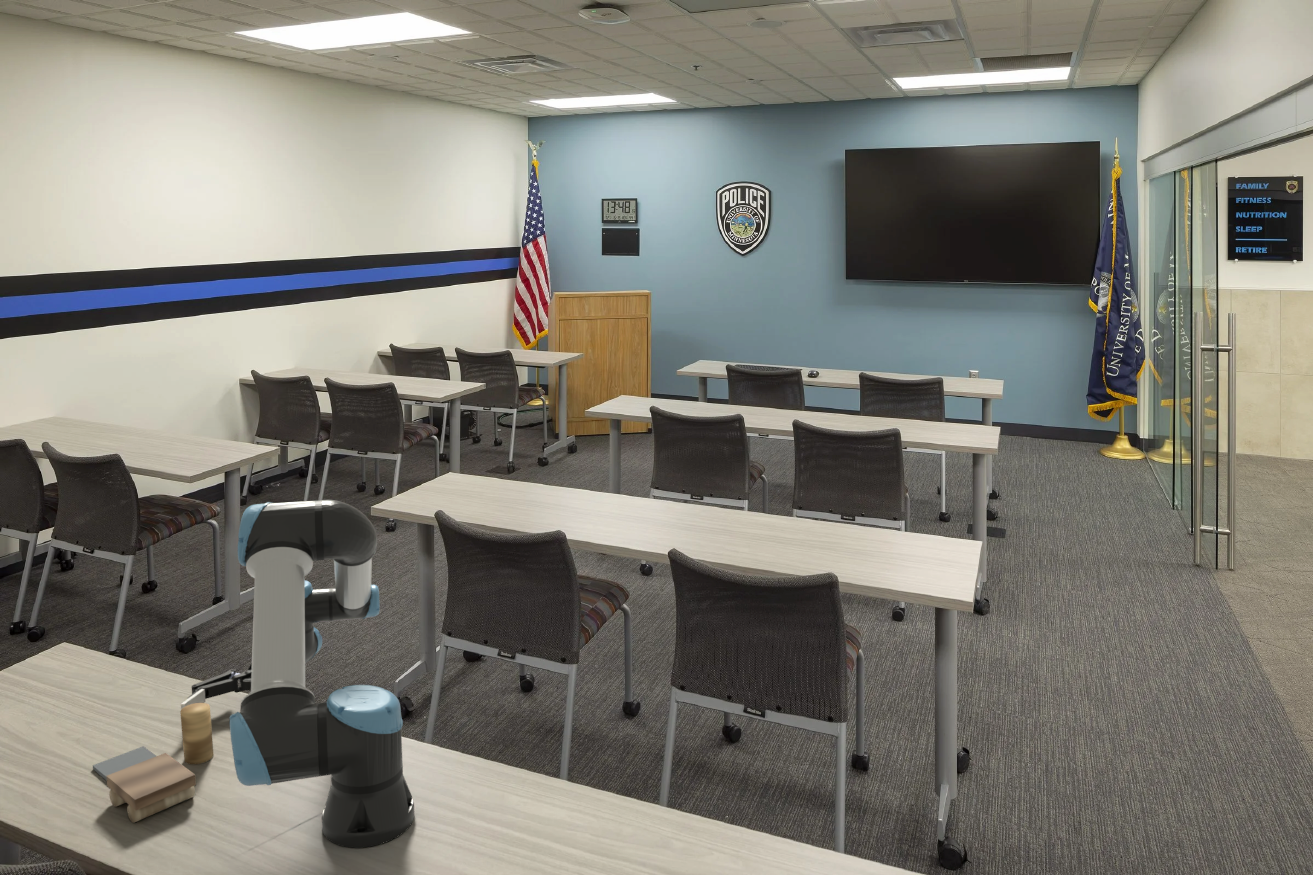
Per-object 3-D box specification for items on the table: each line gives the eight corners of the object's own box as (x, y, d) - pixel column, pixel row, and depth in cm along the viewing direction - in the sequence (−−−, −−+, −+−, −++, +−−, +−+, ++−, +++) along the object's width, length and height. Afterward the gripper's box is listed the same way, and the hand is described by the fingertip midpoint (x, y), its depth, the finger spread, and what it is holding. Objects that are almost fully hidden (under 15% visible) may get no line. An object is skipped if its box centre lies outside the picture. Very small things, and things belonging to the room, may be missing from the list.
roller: (218, 756, 176) (214, 708, 174) (192, 767, 173) (188, 718, 171) (205, 747, 179) (201, 700, 177) (179, 758, 176) (175, 709, 174)
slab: (197, 800, 162) (195, 774, 162) (137, 826, 155) (134, 799, 154) (167, 777, 169) (165, 752, 168) (108, 801, 161) (106, 775, 160)
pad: (165, 766, 173) (165, 762, 172) (114, 787, 166) (113, 783, 165) (143, 749, 178) (143, 745, 178) (92, 769, 171) (92, 765, 171)
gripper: (328, 688, 201) (275, 737, 180) (221, 677, 204) (157, 725, 183) (326, 656, 199) (273, 701, 179) (219, 646, 202) (155, 690, 182)
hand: (214, 713), depth 181 cm, fingers open, 13 cm apart
